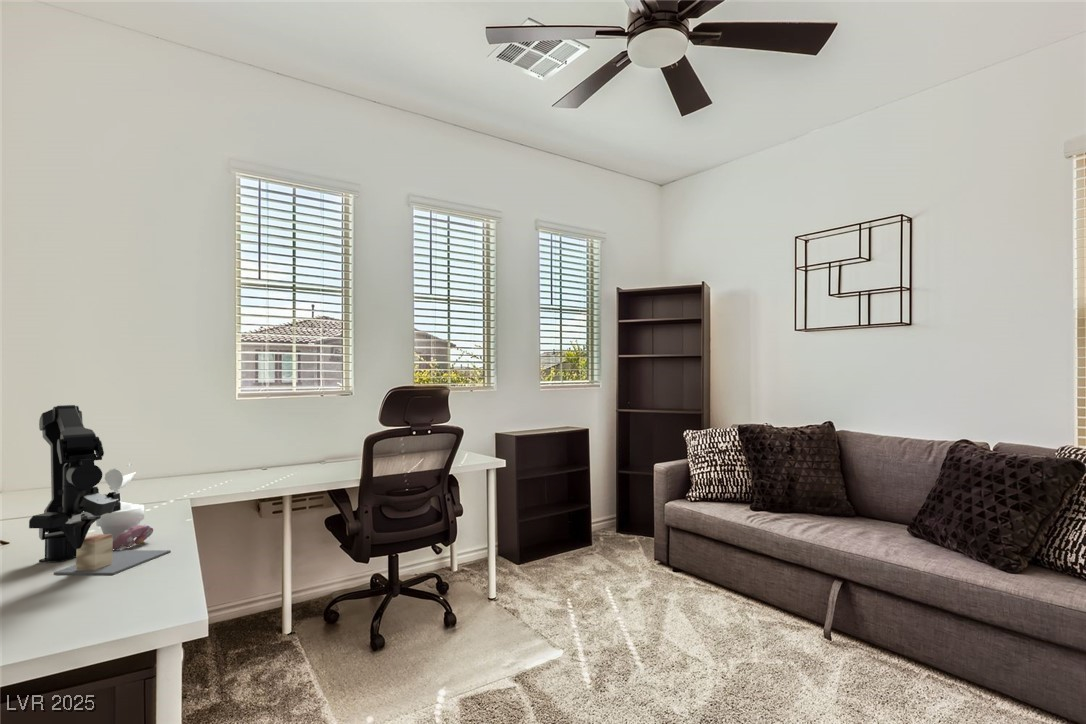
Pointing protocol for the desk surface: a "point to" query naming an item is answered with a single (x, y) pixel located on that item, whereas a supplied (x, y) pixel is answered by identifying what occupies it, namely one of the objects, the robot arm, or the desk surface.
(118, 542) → the video game controller
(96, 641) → the desk surface
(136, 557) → the rubber mat
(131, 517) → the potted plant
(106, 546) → the tall block
